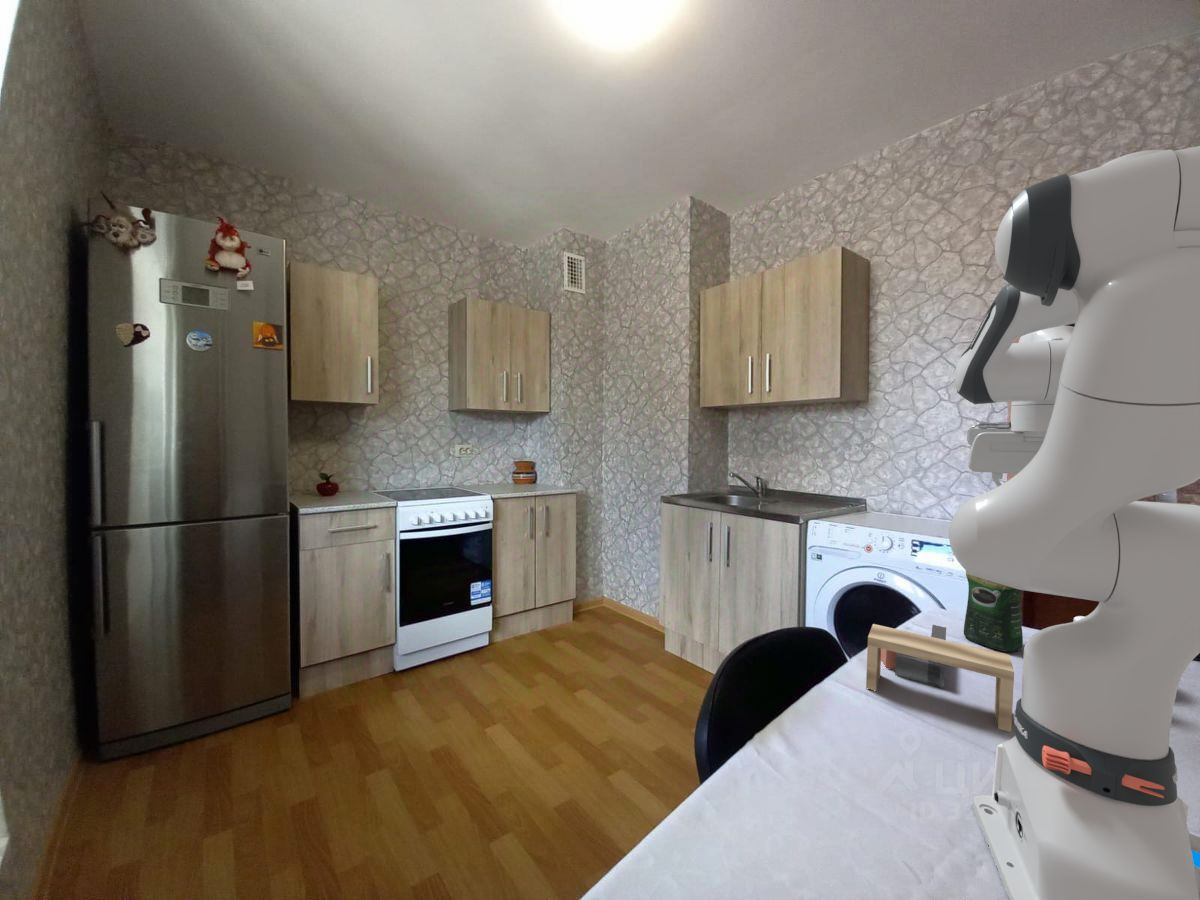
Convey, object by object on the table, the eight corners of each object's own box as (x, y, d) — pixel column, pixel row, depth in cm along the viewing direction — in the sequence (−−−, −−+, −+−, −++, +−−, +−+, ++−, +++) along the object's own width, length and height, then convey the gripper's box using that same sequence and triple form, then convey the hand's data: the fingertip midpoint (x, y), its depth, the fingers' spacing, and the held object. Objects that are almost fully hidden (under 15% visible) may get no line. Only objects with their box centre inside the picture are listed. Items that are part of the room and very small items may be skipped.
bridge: (1011, 732, 71) (1014, 672, 71) (866, 688, 83) (868, 636, 82) (1006, 710, 77) (1009, 654, 76) (871, 672, 89) (873, 623, 88)
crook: (943, 689, 83) (944, 667, 83) (895, 675, 88) (896, 654, 88) (945, 645, 100) (946, 627, 100) (904, 636, 105) (905, 618, 105)
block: (915, 673, 89) (916, 647, 89) (885, 668, 90) (886, 643, 90) (906, 660, 94) (907, 636, 93) (878, 656, 95) (879, 632, 95)
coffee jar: (1029, 649, 99) (1033, 563, 98) (1007, 656, 96) (1012, 567, 95) (977, 631, 108) (981, 552, 107) (956, 637, 105) (960, 555, 104)
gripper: (968, 421, 85) (965, 497, 86) (1135, 422, 73) (1129, 509, 73) (967, 422, 90) (964, 493, 91) (1123, 422, 78) (1117, 504, 78)
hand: (1039, 500), depth 82 cm, fingers open, 8 cm apart
